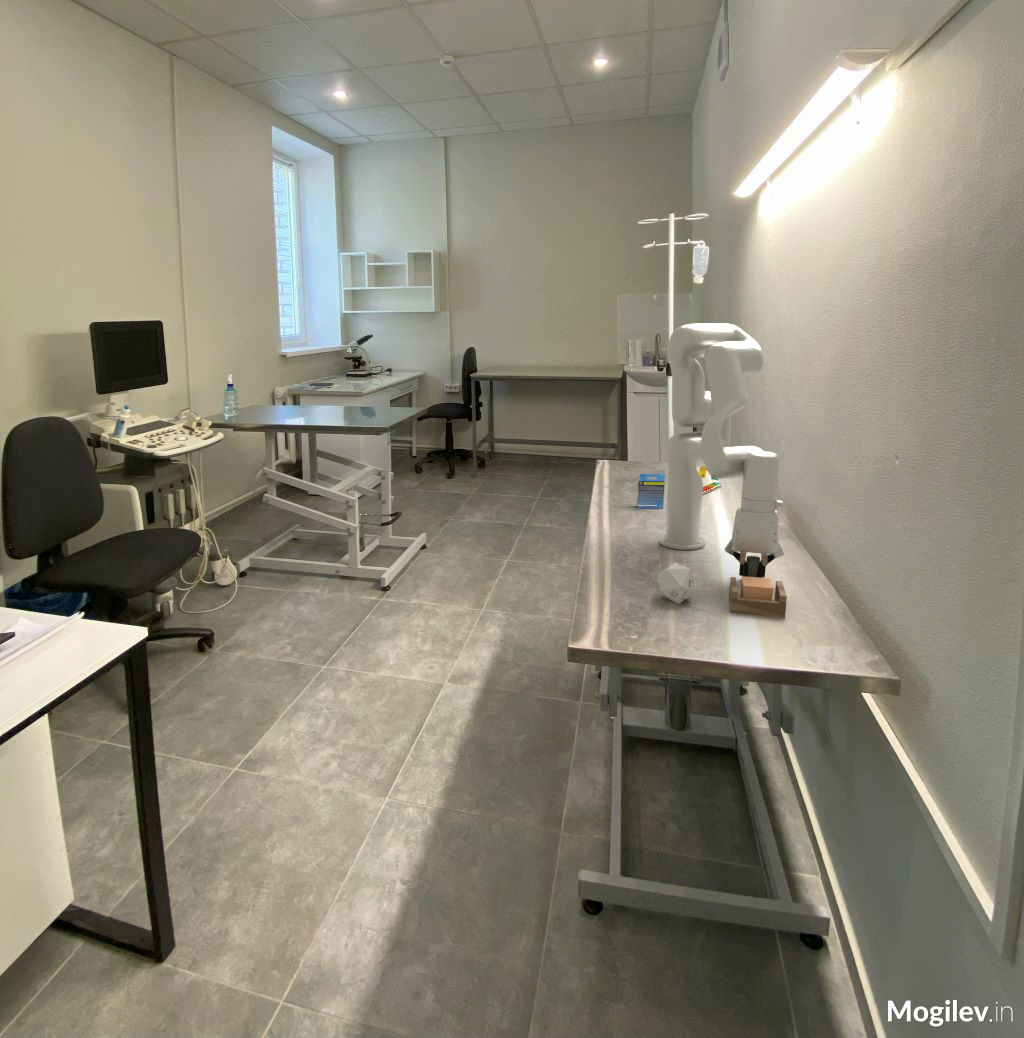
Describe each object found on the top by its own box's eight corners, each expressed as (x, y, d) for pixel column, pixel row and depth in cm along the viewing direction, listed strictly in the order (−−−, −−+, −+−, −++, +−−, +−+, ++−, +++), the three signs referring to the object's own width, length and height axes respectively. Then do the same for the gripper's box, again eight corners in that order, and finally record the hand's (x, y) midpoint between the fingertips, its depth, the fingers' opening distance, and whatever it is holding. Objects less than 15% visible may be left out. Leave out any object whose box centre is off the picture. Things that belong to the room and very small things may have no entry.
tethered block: (737, 578, 159) (739, 554, 158) (764, 580, 158) (766, 556, 156) (741, 607, 142) (743, 581, 141) (771, 609, 141) (773, 583, 139)
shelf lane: (729, 595, 149) (730, 576, 147) (779, 600, 146) (781, 581, 145) (730, 612, 140) (732, 592, 138) (784, 617, 137) (787, 597, 136)
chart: (687, 503, 233) (690, 461, 229) (679, 502, 235) (681, 460, 231) (721, 488, 255) (724, 450, 251) (713, 487, 257) (716, 449, 253)
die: (657, 608, 144) (685, 580, 139) (642, 579, 150) (669, 551, 144) (683, 614, 148) (712, 587, 143) (668, 585, 154) (694, 558, 149)
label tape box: (662, 506, 228) (663, 471, 225) (663, 509, 224) (665, 473, 221) (636, 505, 229) (637, 471, 226) (637, 508, 225) (638, 473, 222)
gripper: (794, 503, 153) (786, 576, 158) (720, 499, 158) (715, 571, 163) (798, 510, 146) (789, 587, 151) (721, 506, 151) (715, 581, 156)
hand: (751, 578), depth 157 cm, fingers closed on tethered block, 3 cm apart
